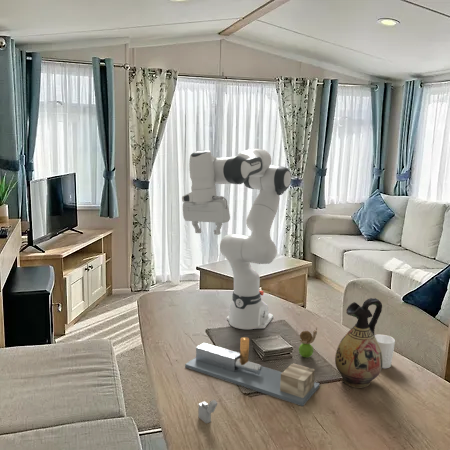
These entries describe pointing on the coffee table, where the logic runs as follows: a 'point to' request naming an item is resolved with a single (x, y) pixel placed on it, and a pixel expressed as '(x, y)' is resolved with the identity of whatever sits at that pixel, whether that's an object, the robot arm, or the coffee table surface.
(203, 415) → the lighter
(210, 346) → the grey sleeve
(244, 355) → the bolt with orange handle
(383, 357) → the white cup
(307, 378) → the birch socket
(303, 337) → the snail figurine
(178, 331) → the coffee table surface
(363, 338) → the ceramic jug
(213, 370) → the slate board
